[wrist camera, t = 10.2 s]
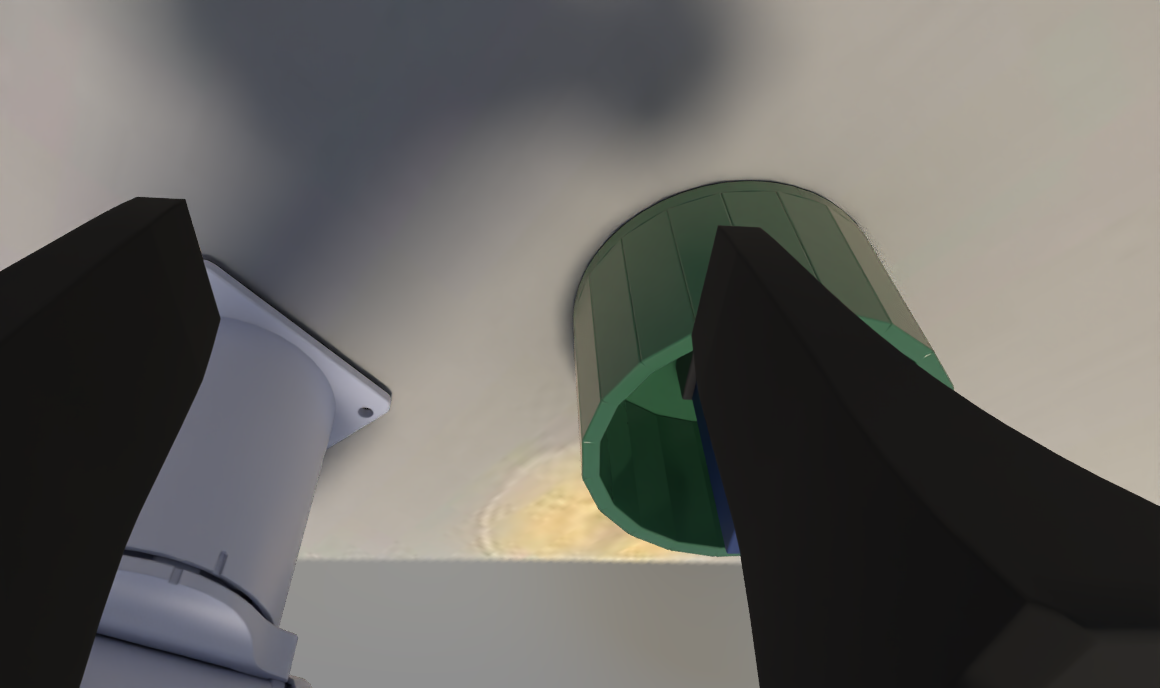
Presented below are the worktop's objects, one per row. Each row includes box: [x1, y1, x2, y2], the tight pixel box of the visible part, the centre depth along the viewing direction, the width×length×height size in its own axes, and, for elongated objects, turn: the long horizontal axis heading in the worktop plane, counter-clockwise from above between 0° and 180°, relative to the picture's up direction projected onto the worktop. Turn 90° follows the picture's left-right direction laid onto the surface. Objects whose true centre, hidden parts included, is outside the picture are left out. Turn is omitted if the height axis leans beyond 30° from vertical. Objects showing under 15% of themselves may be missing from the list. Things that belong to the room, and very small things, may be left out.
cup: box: [573, 181, 954, 557], centre depth 23 cm, size 10×10×6 cm
